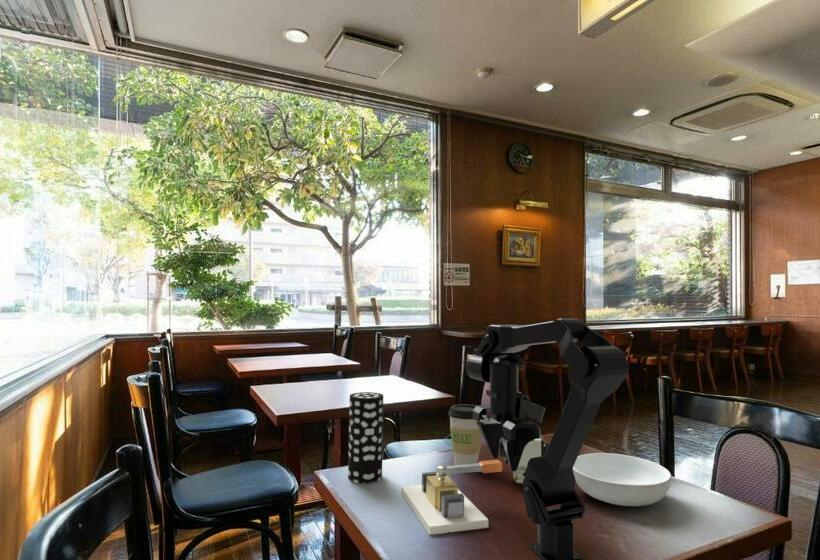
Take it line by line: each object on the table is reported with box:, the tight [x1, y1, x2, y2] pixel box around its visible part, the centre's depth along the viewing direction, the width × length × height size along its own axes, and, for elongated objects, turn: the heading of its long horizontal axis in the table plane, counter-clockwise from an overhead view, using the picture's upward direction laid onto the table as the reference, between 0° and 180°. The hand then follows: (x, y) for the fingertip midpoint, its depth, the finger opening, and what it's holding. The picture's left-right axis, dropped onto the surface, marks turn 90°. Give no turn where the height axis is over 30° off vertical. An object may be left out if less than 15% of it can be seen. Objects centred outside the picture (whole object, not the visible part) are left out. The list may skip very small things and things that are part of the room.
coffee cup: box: [447, 403, 483, 465], centre depth 131 cm, size 10×10×15 cm
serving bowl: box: [573, 452, 672, 507], centre depth 110 cm, size 21×21×7 cm
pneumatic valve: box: [499, 434, 550, 485], centre depth 119 cm, size 6×12×12 cm, turn 78°
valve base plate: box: [400, 484, 489, 536], centre depth 103 cm, size 20×12×2 cm, turn 16°
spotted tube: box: [347, 391, 384, 484], centre depth 121 cm, size 8×8×20 cm
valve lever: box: [436, 459, 503, 481], centre depth 105 cm, size 14×2×3 cm, turn 106°
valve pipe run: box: [421, 471, 465, 519], centre depth 103 cm, size 16×5×4 cm, turn 16°
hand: (504, 464), depth 99 cm, fingers open, 8 cm apart
